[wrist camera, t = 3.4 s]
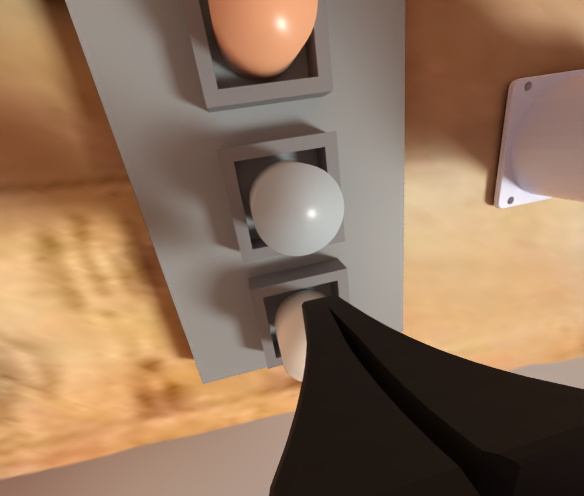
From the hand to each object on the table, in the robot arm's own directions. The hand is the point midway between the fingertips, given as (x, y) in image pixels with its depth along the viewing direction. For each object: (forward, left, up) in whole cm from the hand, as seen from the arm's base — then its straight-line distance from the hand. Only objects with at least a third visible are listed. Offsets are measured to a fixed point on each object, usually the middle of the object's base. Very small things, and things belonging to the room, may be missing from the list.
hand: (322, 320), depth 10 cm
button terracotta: (0, -11, -6) cm, 12 cm away
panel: (0, -4, -8) cm, 9 cm away
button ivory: (0, +3, -5) cm, 6 cm away
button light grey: (0, -4, -5) cm, 6 cm away
